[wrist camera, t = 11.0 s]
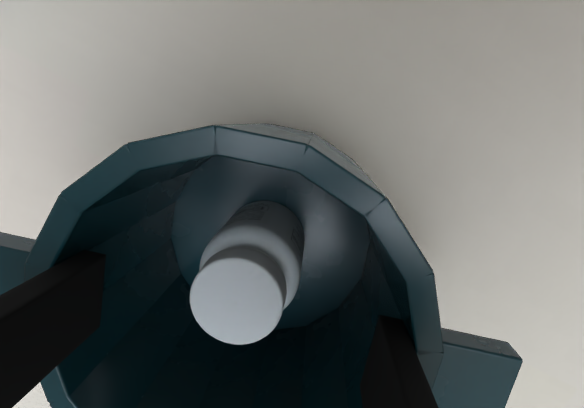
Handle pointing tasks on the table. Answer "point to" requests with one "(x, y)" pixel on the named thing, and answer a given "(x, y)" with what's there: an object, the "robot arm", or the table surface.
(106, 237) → the pot
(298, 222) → the pill bottle
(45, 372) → the robot arm
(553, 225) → the table surface
